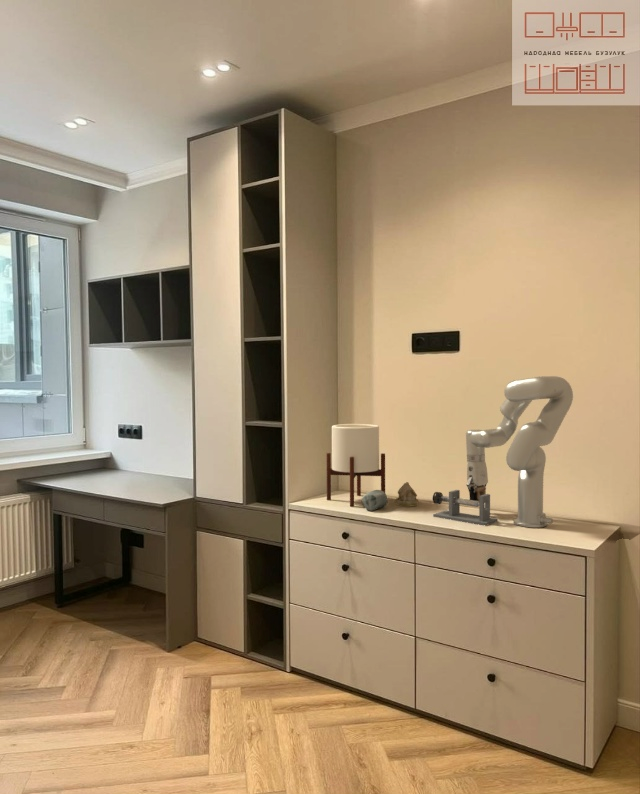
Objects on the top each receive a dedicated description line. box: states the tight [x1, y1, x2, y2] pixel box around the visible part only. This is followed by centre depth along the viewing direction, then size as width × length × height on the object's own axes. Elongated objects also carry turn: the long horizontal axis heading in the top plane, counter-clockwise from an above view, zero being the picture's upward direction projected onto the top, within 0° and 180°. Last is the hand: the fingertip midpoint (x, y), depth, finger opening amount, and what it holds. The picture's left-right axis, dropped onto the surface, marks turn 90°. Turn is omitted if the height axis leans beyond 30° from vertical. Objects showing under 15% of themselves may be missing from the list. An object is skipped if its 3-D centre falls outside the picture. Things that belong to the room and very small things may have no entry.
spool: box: [361, 489, 388, 512], centre depth 276 cm, size 14×10×10 cm
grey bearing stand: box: [432, 489, 498, 527], centre depth 255 cm, size 24×10×11 cm, turn 47°
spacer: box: [468, 486, 487, 504], centre depth 265 cm, size 4×7×7 cm, turn 137°
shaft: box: [432, 491, 479, 508], centre depth 258 cm, size 20×5×5 cm, turn 47°
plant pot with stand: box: [326, 423, 386, 508], centre depth 294 cm, size 22×22×36 cm
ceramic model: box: [394, 481, 419, 508], centre depth 287 cm, size 14×11×10 cm
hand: (477, 500), depth 265 cm, fingers closed on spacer, 6 cm apart
